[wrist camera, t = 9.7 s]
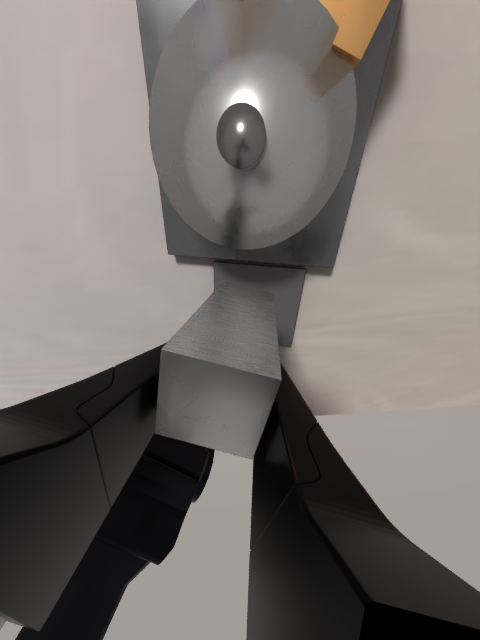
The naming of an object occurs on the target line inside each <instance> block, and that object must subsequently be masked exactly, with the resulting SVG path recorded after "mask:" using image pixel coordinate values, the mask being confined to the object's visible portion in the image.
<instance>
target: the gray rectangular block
mask: <svg viewBox="0 0 480 640" xmlns="http://www.w3.org/2000/svg"><path fill="white" fill-rule="evenodd" d="M281 381H282V378H281V367H280V357H279V346H278V336H277V326H276V315H275V305H274V294H273V293H271V292H267V291H263V290H259V289H255V288H251V287H247V286H242V285H238V284H234V283H230V282H226V281H224V282H223V283H222V284H221V285H220V286H219V287H218V288H217V289H216V290H215V291H214V292H213V294H212V295H211V296H210V297H209V298H208V299H207V300H206V301H205V302H204V303H203V304H202V305H201V307H200V308H199V309H198V310H197V311H196V312H195V313H194V314H193V315H192V316H191V317H190V319H189V320H188V321H187V322H186V323H185V324H184V325H183V326H182V327H181V328H180V329H179V330H178V332H177V333H176V334H175V335H174V336H173V337H172V338H171V339H170V340H169V341H168V342H167V344H166V345H165V346H164V347H163V348H162V349H161V357H160V371H159V384H158V398H157V412H156V426H155V434H158V435H162V436H166V437H170V438H173V439H177V440H181V441H185V442H188V443H192V444H196V445H200V446H203V447H207V448H211V449H215V450H218V451H222V452H226V453H230V454H234V455H238V456H241V457H245V458H249V459H253V457H254V454H255V451H256V449H257V446H258V443H259V440H260V438H261V435H262V432H263V430H264V427H265V424H266V421H267V419H268V416H269V413H270V411H271V408H272V405H273V402H274V400H275V397H276V394H277V392H278V389H279V386H280V384H281Z"/></svg>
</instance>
